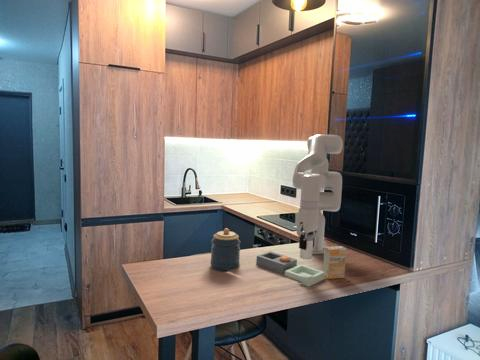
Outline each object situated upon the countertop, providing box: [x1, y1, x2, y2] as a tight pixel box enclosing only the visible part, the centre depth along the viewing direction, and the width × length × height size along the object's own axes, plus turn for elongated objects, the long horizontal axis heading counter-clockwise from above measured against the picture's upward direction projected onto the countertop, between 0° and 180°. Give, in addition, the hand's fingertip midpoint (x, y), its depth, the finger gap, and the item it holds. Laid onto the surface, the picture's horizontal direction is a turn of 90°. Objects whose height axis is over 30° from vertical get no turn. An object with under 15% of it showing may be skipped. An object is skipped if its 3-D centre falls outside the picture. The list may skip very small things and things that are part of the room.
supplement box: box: [322, 245, 348, 280], centre depth 154 cm, size 8×5×13 cm, turn 105°
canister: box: [210, 227, 241, 272], centre depth 160 cm, size 13×13×18 cm
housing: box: [255, 251, 298, 275], centre depth 161 cm, size 10×15×5 cm, turn 47°
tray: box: [284, 263, 325, 287], centre depth 152 cm, size 12×12×3 cm
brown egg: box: [280, 255, 291, 262], centre depth 158 cm, size 4×4×5 cm
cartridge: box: [299, 233, 314, 261], centre depth 150 cm, size 5×5×10 cm
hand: (306, 247), depth 150 cm, fingers closed on cartridge, 5 cm apart
